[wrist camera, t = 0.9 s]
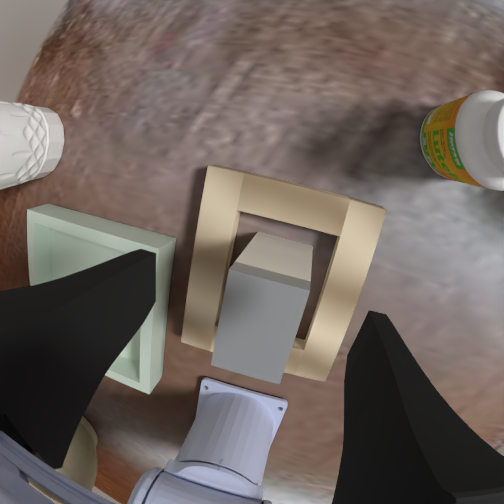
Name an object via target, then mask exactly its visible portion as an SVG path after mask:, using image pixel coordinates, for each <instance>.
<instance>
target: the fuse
mask: <svg viewBox="0 0 504 504" xmlns="http://www.w3.org/2000/svg"><path fill="white" fill-rule="evenodd" d="M312 250H313V246H311V245H307V244H303V243H299V242H295V241H291V240H288V239H284V238H280V237H276V236H272V235H268V234H264V233H260V232H257V234H256V235H255V236H254V238H253V239H252V240H251V241H250V243H249V244H248V245H247V247H246V248H245V249H244V250H243V252H242V253H241V254H240V256H239V257H238V258H237V260H236V261H235V262H234V263H233V265H232V266H231V267H230V269H229V272H228V277H227V282H226V287H225V293H224V298H223V303H222V308H221V314H220V319H219V324H218V330H217V335H216V340H215V346H214V351H213V357H212V362H211V365H213V366H216V367H219V368H222V369H226V370H229V371H232V372H236V373H239V374H243V375H246V376H250V377H253V378H257V379H261V380H264V381H268V382H272V383H276V384H280V381H281V378H282V375H283V373H284V370H285V367H286V364H287V361H288V358H289V355H290V352H291V349H292V346H293V343H294V340H295V337H296V334H297V331H298V328H299V325H300V322H301V318H302V315H303V312H304V309H305V306H306V302H307V299H308V296H309V293H310V285H311V269H312Z"/></svg>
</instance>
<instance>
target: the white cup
mask: <svg viewBox="0 0 504 504" xmlns="http://www.w3.org/2000/svg"><path fill="white" fill-rule="evenodd" d="M63 146H64V129H63V124H62V122H61V120H60V118H59V116H58V114H57V113H56V112H54V111H52V110H51V109H49V108H45V107H36V106H31V105H27V104H21V103H14V102H7V101H0V190H2V189H5V188H8V187H11V186H15V185H19V184H22V183H24V182H27V181H30V180H34V179H39V178H43V177H45V176H47V175H48V174H49V173H51V172H52V171H54V169H55V168H56V166H57V164H58V162H59V160H60V159H61V156H62V151H63Z"/></svg>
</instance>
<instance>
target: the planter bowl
mask: <svg viewBox="0 0 504 504" xmlns="http://www.w3.org/2000/svg"><path fill="white" fill-rule="evenodd" d="M97 443H98V438H97V435H96V432H95V431H94V429H93V427H92V426H91V424H90V423H89V422H88V421H87V420H86V418H85V417H84V416H82V418H81V421H80V423H79V425H78V427H77V430H76V432H75V434H74V437H73V439H72V441H71V444H70V447H69V449H68V452H67V455H66V458H65V460H64V464H63V467H62V468H59V469H55V470H56V471H58V472H59V473H61V474H62V475H64V476H66V477H67V478H69V479H71V480H72V481H74V482H76V483H77V484H79V485H81V486H83V487H84V488H86V489H88V490H90V491H92V488H93V486H94V483H95V479H96V473H97V454H96V446H97ZM27 478H28V477H27ZM28 481H29V482H30V483H31V484H32V485H33V486H35V487H36V488H37V489H39V490H40V491H41V492H43V493H44V494H46V495H47V496H49V497H50V498H52V499H54V500H55V501H57V502H59V503H61V504H66V503H65V502H63V501H61V500H60V499H58V498H57V497H55V496H54V495H52V494H51V493H49V492H48V491H46V490H45V489H43V488H42V487H40V486H39V485H37V484H36V483H35V482H33V481H32V480H30V479H29V478H28Z"/></svg>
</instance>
